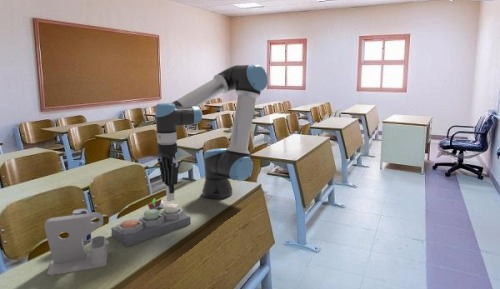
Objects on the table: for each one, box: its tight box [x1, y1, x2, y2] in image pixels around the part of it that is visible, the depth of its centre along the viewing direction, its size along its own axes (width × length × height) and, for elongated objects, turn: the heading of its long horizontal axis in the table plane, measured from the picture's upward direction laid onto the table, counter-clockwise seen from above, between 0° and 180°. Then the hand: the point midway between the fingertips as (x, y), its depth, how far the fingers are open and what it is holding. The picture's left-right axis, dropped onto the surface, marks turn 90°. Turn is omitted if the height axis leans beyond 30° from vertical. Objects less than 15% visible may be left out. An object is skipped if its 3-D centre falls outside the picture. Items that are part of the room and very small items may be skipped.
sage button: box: [143, 209, 159, 221], centre depth 140 cm, size 6×6×2 cm
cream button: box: [163, 203, 180, 214], centre depth 146 cm, size 6×6×2 cm
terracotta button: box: [122, 219, 138, 228], centre depth 134 cm, size 6×6×2 cm
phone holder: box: [43, 211, 108, 276], centre depth 115 cm, size 17×10×18 cm, turn 109°
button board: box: [110, 206, 192, 247], centre depth 141 cm, size 27×13×5 cm, turn 134°
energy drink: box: [71, 207, 93, 245], centre depth 131 cm, size 5×5×12 cm
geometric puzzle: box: [147, 197, 166, 213], centre depth 157 cm, size 7×7×8 cm
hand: (170, 200), depth 145 cm, fingers closed
